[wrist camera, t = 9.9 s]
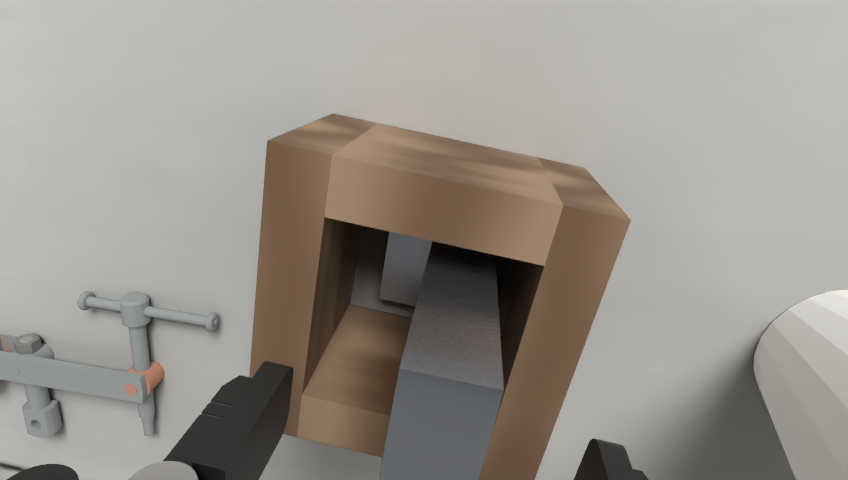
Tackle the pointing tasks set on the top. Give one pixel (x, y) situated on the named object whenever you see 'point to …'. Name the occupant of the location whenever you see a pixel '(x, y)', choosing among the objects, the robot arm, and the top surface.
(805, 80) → the top surface
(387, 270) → the grey upright bar
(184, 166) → the top surface
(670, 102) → the top surface
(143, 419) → the clamp
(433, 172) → the well block
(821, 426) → the cup
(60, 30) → the top surface
